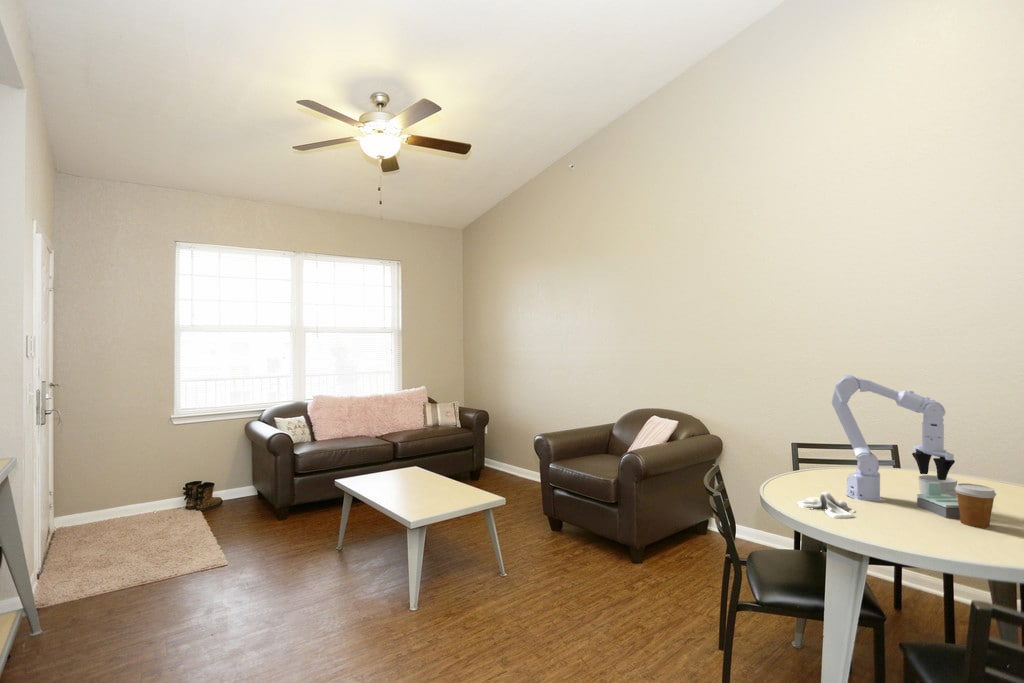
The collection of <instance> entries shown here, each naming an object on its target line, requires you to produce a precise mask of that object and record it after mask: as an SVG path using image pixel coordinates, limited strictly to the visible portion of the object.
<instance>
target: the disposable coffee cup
mask: <svg viewBox="0 0 1024 683" xmlns="http://www.w3.org/2000/svg"><path fill="white" fill-rule="evenodd" d="M955 490H956V492H957V498H958V505H959V512H960V518H959V519H960V523H961V524H962V525H965V526H968V527H972V528H977V529H989V527H990V522H991V517H992V513H993V512H992V511H993V506H994V499H995V498H996V496H997V493H996V492H995V489H994V488H992V487H990V486H988V485H987V486H986V485H982V484H976V483H969V482H968V483H967V482H965V483H964V482H960V483H958V482H957V485H956V487H955Z"/></svg>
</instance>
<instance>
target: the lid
mask: <svg viewBox="0 0 1024 683" xmlns="http://www.w3.org/2000/svg"><path fill="white" fill-rule="evenodd" d="M916 497H920V498H922V499H925V500H928V501H930V502H933V503H935V504H938V505H940V506H943V507H946V508H959V505H958V498H957V497H953V496H950V495H947V494H941V483H938V482H926V494H921V493H917V495H916Z"/></svg>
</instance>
